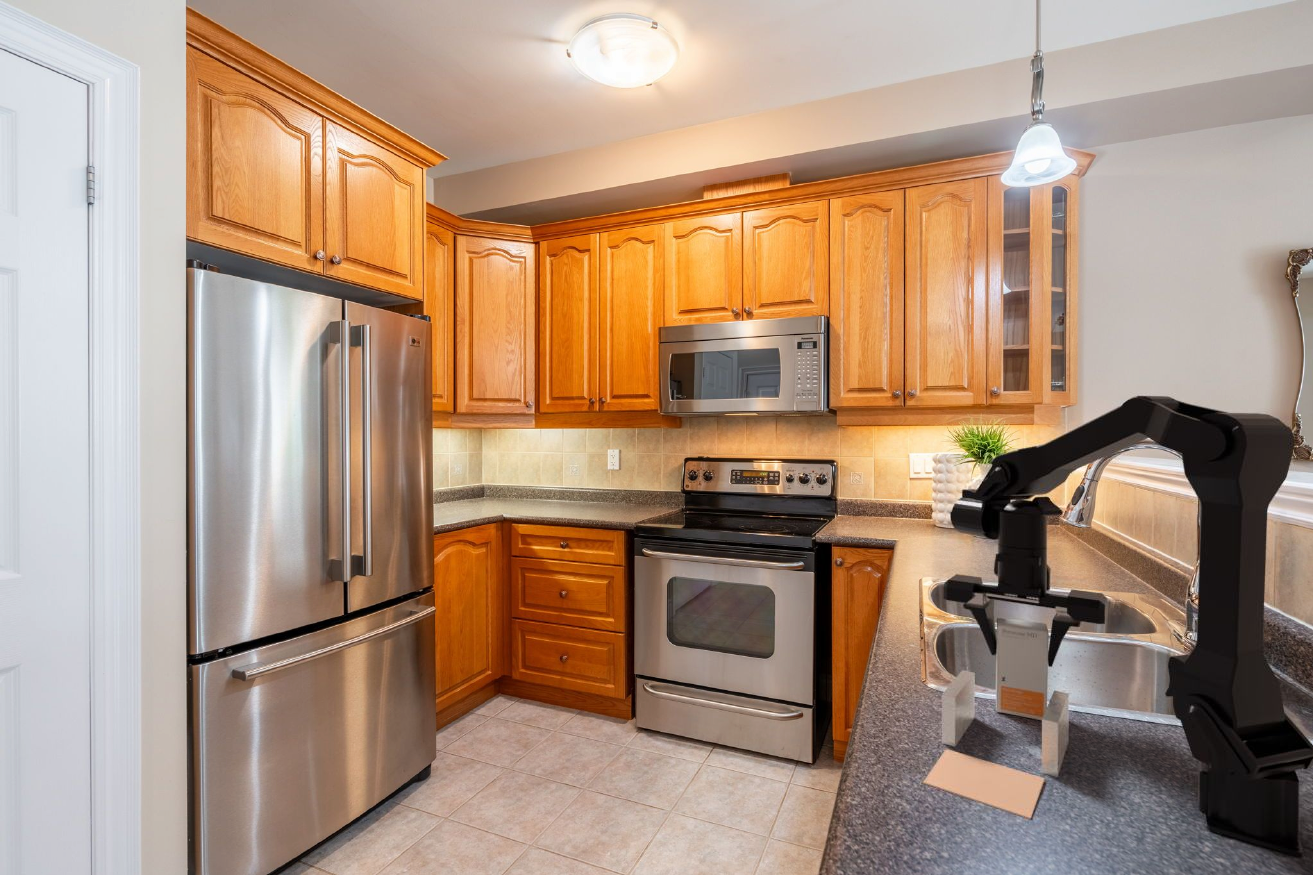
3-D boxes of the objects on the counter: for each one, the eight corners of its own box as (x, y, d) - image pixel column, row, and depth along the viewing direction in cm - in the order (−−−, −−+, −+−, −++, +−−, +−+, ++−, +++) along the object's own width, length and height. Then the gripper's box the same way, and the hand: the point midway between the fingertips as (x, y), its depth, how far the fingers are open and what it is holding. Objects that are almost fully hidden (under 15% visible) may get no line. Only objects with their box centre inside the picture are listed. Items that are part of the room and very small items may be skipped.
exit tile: (1044, 781, 68) (1044, 778, 68) (1030, 821, 61) (1030, 817, 61) (946, 752, 74) (946, 748, 74) (923, 785, 67) (923, 781, 67)
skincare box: (995, 713, 85) (996, 624, 85) (995, 701, 89) (995, 616, 88) (1048, 722, 82) (1049, 631, 82) (1046, 710, 86) (1046, 622, 86)
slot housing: (1068, 742, 77) (1068, 693, 77) (1057, 777, 69) (1057, 722, 69) (962, 714, 84) (962, 670, 84) (941, 743, 77) (941, 694, 77)
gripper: (1110, 544, 85) (1110, 659, 86) (962, 531, 97) (961, 631, 97) (1104, 557, 77) (1104, 684, 77) (942, 541, 88) (942, 651, 89)
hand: (1021, 660), depth 85 cm, fingers closed on skincare box, 6 cm apart
